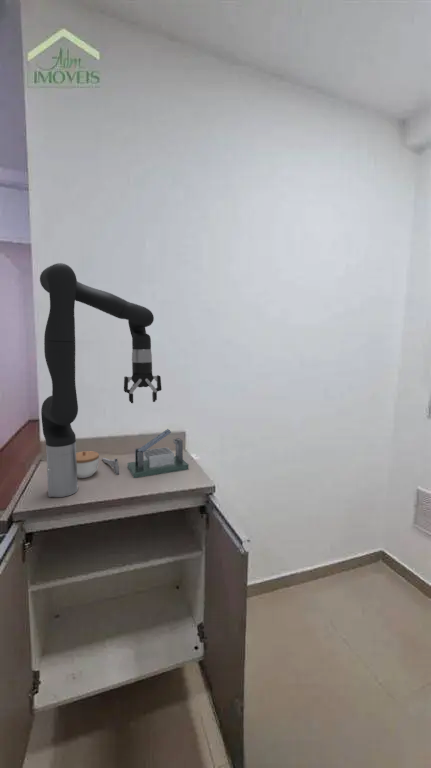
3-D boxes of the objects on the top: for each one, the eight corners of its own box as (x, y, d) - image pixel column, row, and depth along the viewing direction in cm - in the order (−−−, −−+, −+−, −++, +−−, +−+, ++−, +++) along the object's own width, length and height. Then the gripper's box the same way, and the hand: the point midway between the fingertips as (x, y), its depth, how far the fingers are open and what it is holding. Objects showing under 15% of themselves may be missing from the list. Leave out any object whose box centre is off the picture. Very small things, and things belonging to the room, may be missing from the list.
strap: (140, 453, 137) (139, 451, 136) (138, 451, 139) (137, 449, 139) (171, 432, 141) (170, 430, 141) (168, 430, 144) (167, 428, 143)
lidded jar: (69, 482, 128) (68, 457, 127) (70, 471, 138) (68, 448, 137) (100, 478, 132) (99, 454, 131) (98, 468, 142) (97, 445, 141)
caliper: (119, 475, 136) (118, 459, 135) (116, 475, 135) (115, 460, 134) (103, 460, 152) (103, 446, 152) (101, 460, 152) (100, 446, 151)
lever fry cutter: (133, 478, 132) (133, 449, 131) (127, 467, 143) (126, 441, 141) (188, 469, 141) (188, 442, 140) (178, 460, 152) (178, 435, 151)
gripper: (124, 362, 129) (125, 405, 131) (162, 361, 134) (163, 402, 136) (122, 360, 136) (123, 401, 138) (158, 360, 141) (159, 399, 143)
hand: (143, 402), depth 137 cm, fingers open, 8 cm apart
